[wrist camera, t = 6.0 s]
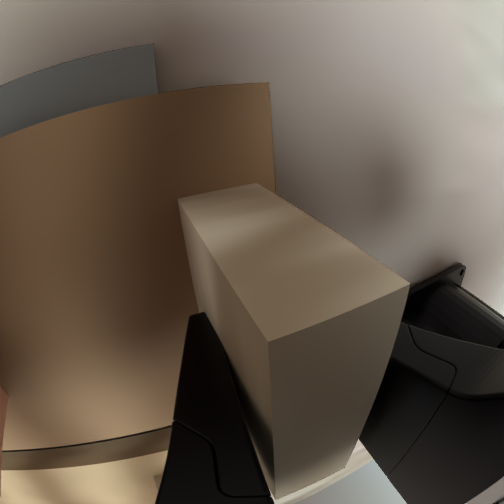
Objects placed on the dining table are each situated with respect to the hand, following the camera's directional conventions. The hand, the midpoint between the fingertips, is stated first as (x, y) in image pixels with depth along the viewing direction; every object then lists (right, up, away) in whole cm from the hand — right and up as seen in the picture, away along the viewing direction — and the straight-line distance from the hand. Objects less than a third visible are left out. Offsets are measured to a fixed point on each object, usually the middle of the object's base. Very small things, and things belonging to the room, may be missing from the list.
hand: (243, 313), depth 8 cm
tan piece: (-11, -13, +5) cm, 18 cm away
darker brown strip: (-8, -1, 0) cm, 8 cm away
